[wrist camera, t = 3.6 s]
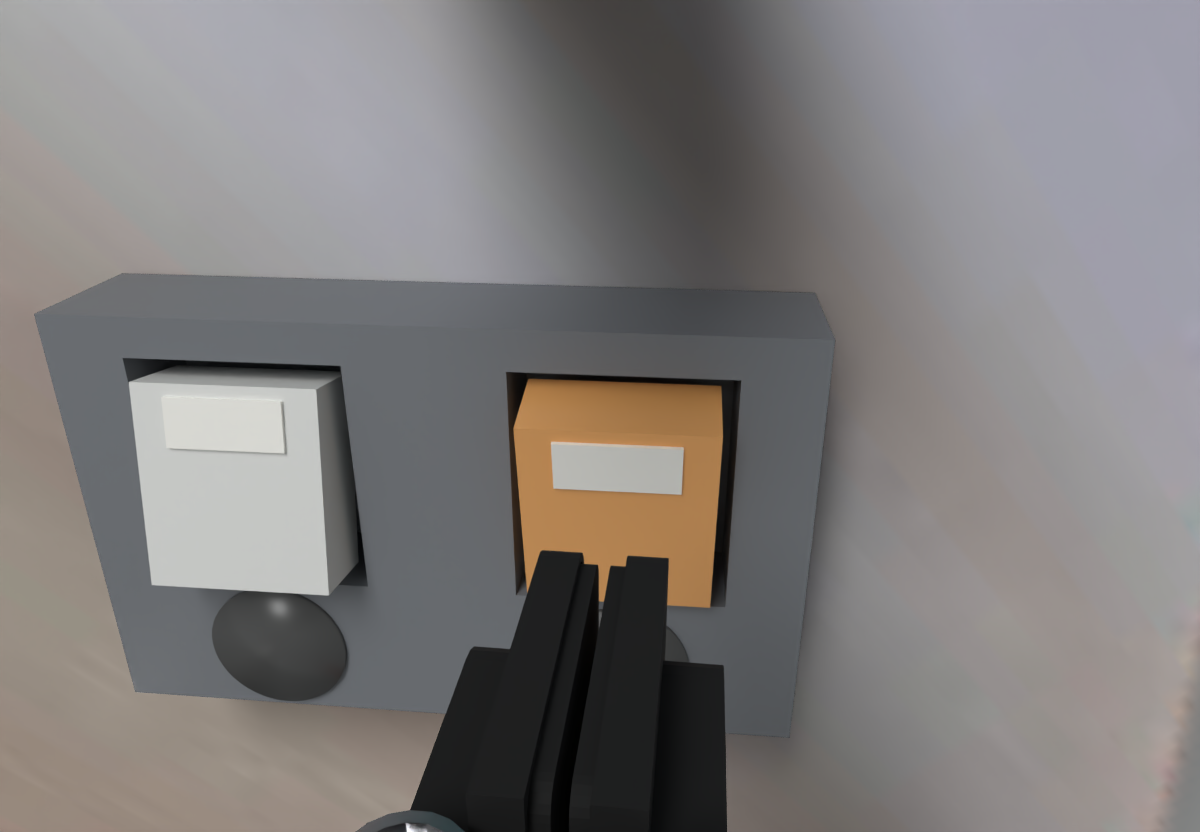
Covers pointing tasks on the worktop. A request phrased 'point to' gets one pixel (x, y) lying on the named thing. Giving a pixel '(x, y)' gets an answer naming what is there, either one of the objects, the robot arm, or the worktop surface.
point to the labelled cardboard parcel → (622, 477)
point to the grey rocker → (246, 478)
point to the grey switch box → (446, 472)
